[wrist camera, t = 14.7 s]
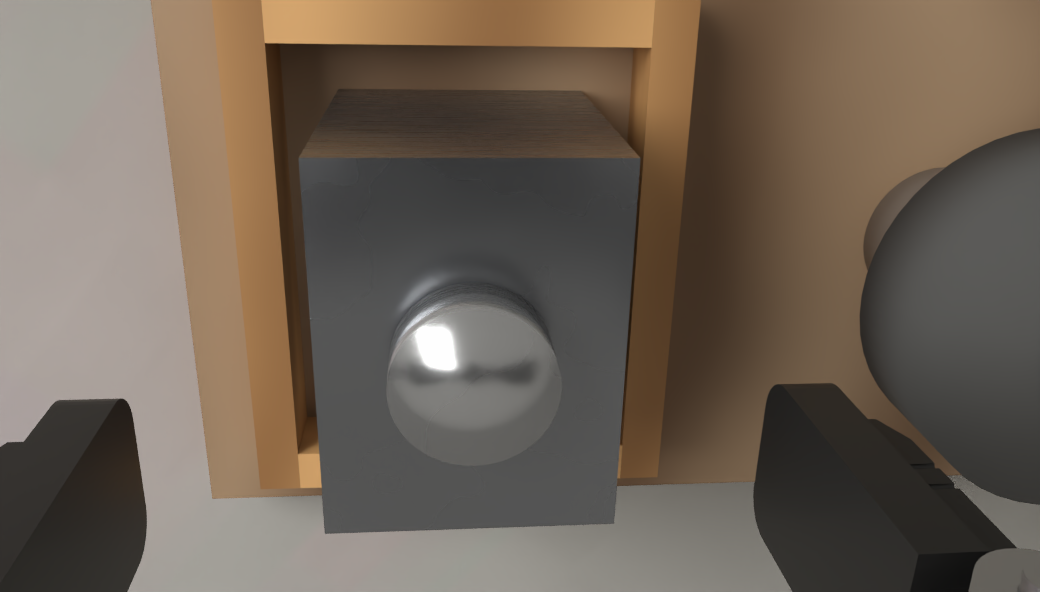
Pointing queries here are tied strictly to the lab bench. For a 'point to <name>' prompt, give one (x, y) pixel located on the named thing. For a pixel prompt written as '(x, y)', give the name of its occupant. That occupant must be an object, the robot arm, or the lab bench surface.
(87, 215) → the lab bench surface
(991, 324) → the wheel
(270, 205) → the wooden base board
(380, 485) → the grey box with knob
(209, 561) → the lab bench surface
